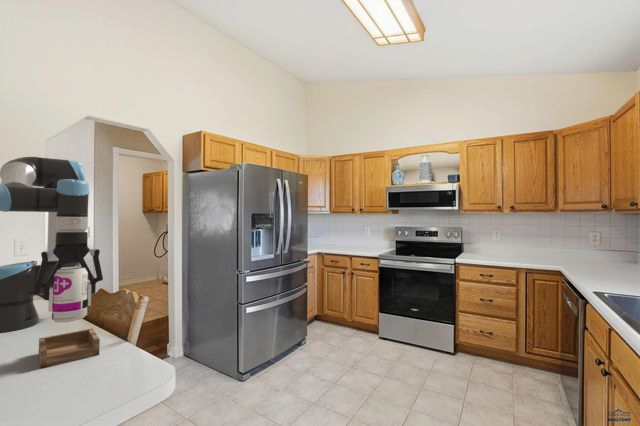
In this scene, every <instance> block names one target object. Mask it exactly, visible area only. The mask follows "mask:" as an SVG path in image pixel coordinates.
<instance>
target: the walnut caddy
mask: <svg viewBox="0 0 640 426" xmlns="http://www.w3.org/2000/svg"><path fill="white" fill-rule="evenodd" d="M97 334H98V333H96V331H95V330H94V328H87V329H82V330H75V331H72V332H67V333H66V332H65V333H61V334H56V335H50V336H45V337H40V338H38V359H39V368H40V369H44V368H49V367H53V366H58V365H61V364H66V363H70V362H73V361H78V360H83V359H86V358H91V357H95V356H100V347H101V346H100V345H101V344H100V343H101V341H100V337H99V336H98V335H97Z"/></svg>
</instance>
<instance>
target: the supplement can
mask: <svg viewBox="0 0 640 426" xmlns="http://www.w3.org/2000/svg"><path fill="white" fill-rule="evenodd" d="M88 283H89V279H88V272H87V270H86V269H85V268H82V267H64V268H61V269H60V270H57V272H56V273H55V275H54V281H53V310H52V312H51V320H52V321H54V322H55V323H58V324H59V323H60V324H61V323H71V322H75V321H79V320H82V319H84V318H85V317H86V316H87V315H88V306H87V298H88Z"/></svg>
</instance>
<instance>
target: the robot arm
mask: <svg viewBox="0 0 640 426" xmlns="http://www.w3.org/2000/svg"><path fill="white" fill-rule="evenodd" d="M0 179H1V181H0V182H1V183H0V212H3V213H4V212H5V213H6V212H14V213H15V212H22V213H23V212H24V213H26V212H28V213H30V212H31V213H33V212H35V213H48V214H47V215H48V217H47V218H48V219H47V251H41V253H40V256H41V262H40V264H35V262H34V261H25V262H16V263H11V264H5V265H1V266H0V333H7V332H12V331H18V330H22V329H26V328H29V327H33V326H34V325H35V326H36V325H37V324H39V321H40V317H39V313H38V311H37V309H36V307H35V304H34V296H42V295H43V299H44V300H45V301H48V312H49V313H52V310H53V281H54V275H55V273H56V272H57V270H60V269H61V268H64V267H82V268H85V269H86V270H87V272H88V298H87V307H91V305H92V295H95V293H96V286H97V285H96V284H97V283H98V282H101V281H103V280H104V278H103V277H104V276H103V271H102V267H101V262H100V258H99V257H100V252H101V251H100V249H98V248H95V249H93V248H92V249H91V248H89V246H88V239H89V238H88V234H89V233H88V232H87V230H89V229H88V228H89V227H88V226H89V225H88V223H89V195H90V189H89V182H87V180H86V177H85V171H84V167H83V165H82V163H80V162H79V161H75V160H69V159H60V158H59V159H58V158H51V157H50V158H48V157H40V156H39V157H38V156H23V157H18V158H15V159H14V158H13V159H12V160H9V161H7V162H6V163H4V164H3V165H2V167H0ZM88 254H90V256H92V260H93V267H94V271H95V274H96V275H95V276H94V275H93V273H92V271H91V270H90V268H89V266H88V264H87V262H86V260H85V259H84V258H85V257H86V256H87V255H88Z"/></svg>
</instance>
